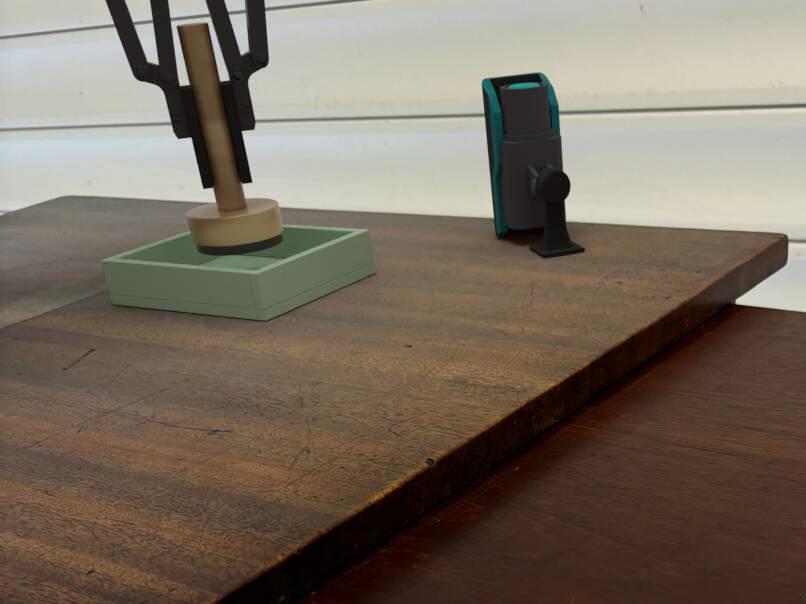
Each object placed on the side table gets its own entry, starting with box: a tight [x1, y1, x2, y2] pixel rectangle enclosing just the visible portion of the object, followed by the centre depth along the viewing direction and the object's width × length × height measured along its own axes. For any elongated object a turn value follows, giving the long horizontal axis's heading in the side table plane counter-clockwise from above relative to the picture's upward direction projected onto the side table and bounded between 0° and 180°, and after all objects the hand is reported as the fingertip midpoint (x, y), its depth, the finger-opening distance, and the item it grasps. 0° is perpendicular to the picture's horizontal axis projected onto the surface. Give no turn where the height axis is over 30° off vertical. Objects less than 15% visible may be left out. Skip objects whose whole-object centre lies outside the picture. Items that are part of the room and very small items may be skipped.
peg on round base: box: [175, 21, 284, 256], centre depth 87 cm, size 7×7×15 cm
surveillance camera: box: [481, 71, 586, 259], centre depth 96 cm, size 6×12×10 cm
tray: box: [100, 223, 376, 322], centre depth 92 cm, size 16×14×3 cm
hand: (226, 182), depth 88 cm, fingers closed on peg on round base, 2 cm apart
